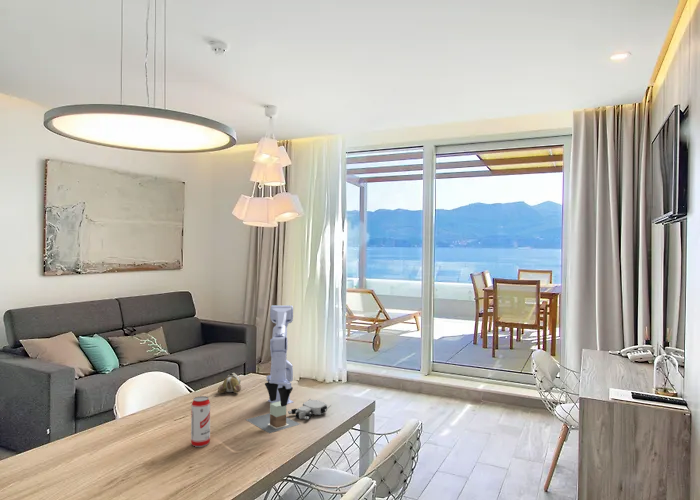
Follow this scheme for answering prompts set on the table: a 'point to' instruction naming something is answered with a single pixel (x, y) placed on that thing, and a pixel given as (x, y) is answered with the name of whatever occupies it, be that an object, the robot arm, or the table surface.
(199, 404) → the beer can
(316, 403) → the robot toy
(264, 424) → the board
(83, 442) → the table surface
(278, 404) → the sage block
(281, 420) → the walnut block
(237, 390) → the ceramic sculpture
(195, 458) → the table surface
